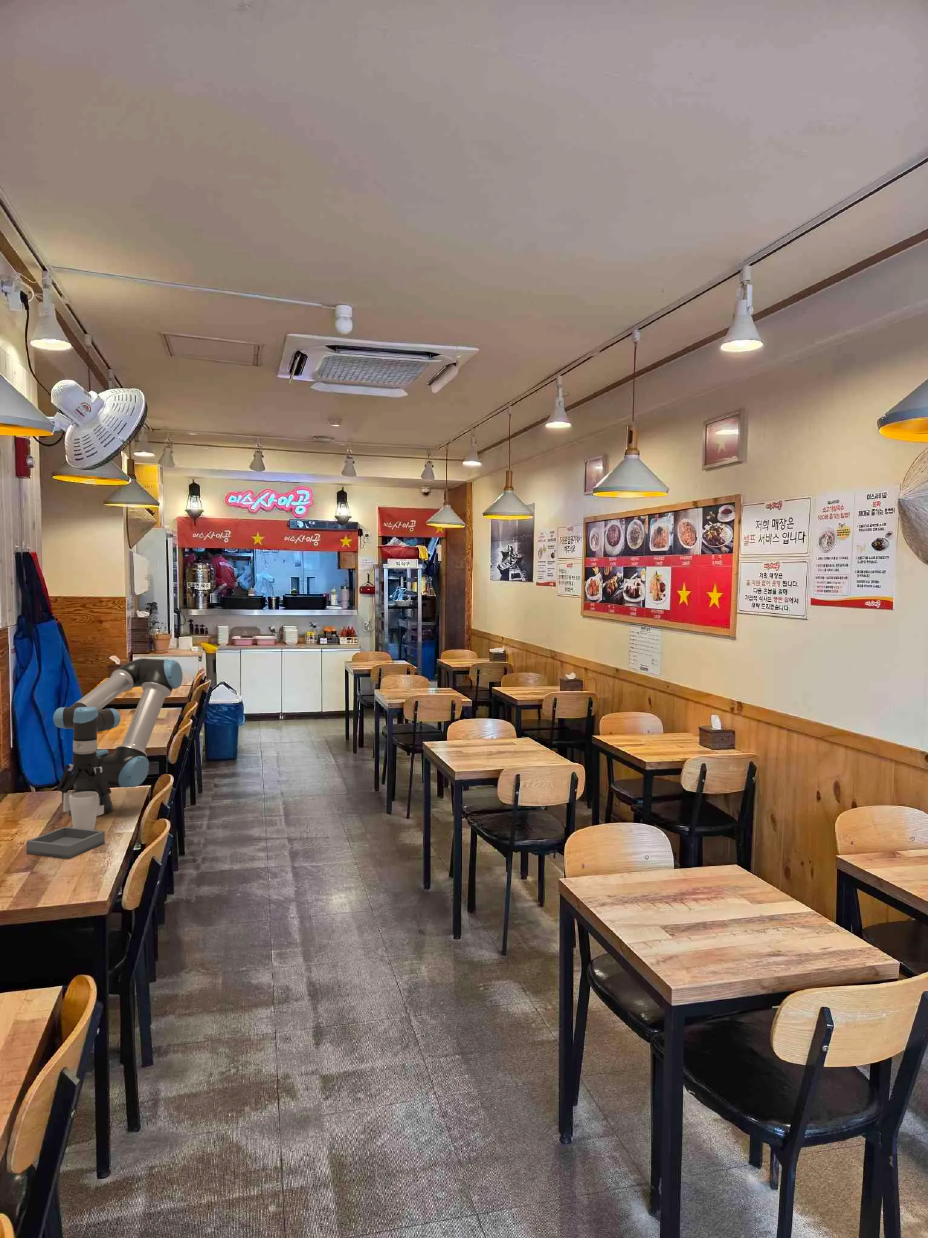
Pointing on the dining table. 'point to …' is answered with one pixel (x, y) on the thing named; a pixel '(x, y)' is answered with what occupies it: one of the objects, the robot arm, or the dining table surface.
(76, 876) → the dining table surface
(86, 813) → the foam cup
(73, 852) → the tray
